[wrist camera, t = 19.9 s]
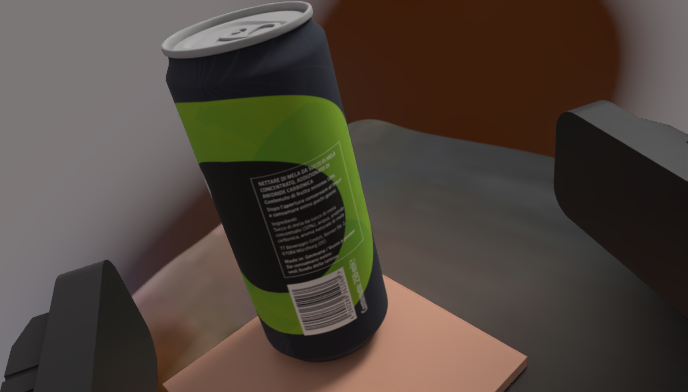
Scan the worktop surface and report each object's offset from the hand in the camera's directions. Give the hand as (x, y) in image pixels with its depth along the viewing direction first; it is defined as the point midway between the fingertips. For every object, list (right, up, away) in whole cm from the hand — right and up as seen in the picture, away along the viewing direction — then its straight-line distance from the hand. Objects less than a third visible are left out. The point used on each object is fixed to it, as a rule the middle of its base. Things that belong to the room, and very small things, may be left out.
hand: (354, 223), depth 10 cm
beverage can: (-1, -6, +18) cm, 19 cm away
